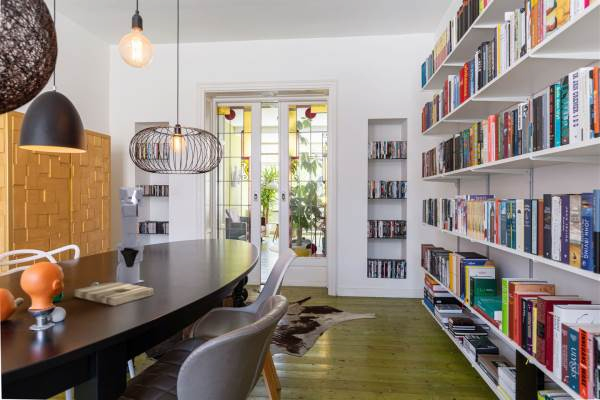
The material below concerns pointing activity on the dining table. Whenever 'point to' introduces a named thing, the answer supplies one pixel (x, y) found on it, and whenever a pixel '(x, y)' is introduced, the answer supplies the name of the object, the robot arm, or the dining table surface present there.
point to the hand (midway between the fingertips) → (129, 267)
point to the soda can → (58, 297)
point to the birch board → (113, 293)
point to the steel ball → (95, 284)
